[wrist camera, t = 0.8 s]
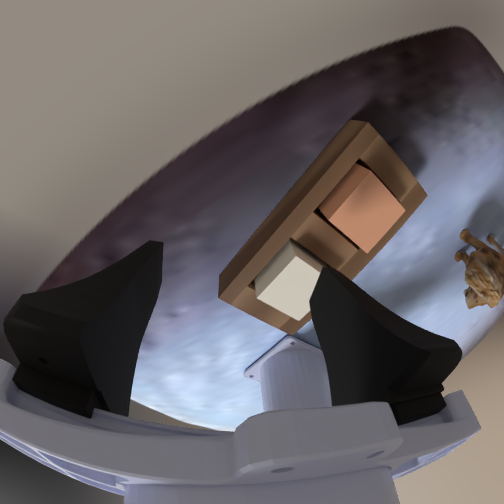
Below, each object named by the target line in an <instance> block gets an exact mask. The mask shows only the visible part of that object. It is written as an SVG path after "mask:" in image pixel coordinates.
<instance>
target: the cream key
mask: <svg viewBox="0 0 504 504" xmlns="http://www.w3.org/2000/svg"><path fill="white" fill-rule="evenodd" d="M322 267H327V265H326V263H325V262H324V261H323V260H321V259H320V258H319V257H317V256H316V255H314V254H313V253H312V252H310V251H309V250H308V249H306V248H305V247H303V246H302V245H301V244H299V243H298V242H296V241H295V240H294V239H292V238H290V239H289V240H288V241H287V242H286V243H285V244H284V246H283V247H282V248H281V249H280V250H279V251H278V252H277V253H276V255H275V256H274V257H273V258H272V259H271V260H270V261H269V262H268V264H267V265H266V266H265V267H264V268H263V269H262V270H261V271H260V272H259V274H258V275H257V276H256V277H255V278H254V282H255V290H256V298H257V299H259V300H261V301H263V302H264V303H266V304H268V305H270V306H272V307H274V308H276V309H277V310H279V311H281V312H283V313H285V314H287V315H289V316H290V317H292V318H294V319H296V320H298V321H299V320H301V319H302V318H303V317H304V316H305V315H306V314H307V313H308V312H309V311H310V305H309V300H310V297H311V295H312V292H313V290H314V287H315V285H316V282H317V280H318V277H319V275H320V272H321V270H322Z"/></svg>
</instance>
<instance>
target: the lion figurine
mask: <svg viewBox="0 0 504 504" xmlns="http://www.w3.org/2000/svg"><path fill="white" fill-rule="evenodd" d="M460 238H461V239H462V240H463V241H464V242H465V243H469V244H471V245H472V246H473V247H474V248H475V249H476V251H475V252H472V253H470V256H468V254H466V252H464V251H459V252H457V253H456V255H455V260H456V261H457V262H459V261H460V260H463V261H464V262H465V264H466V271H465V282H466V283H467V284H468V285H469V288H468V289H466V290H464V295H465V297H466V298H465V300H466V303H467V305H468V309H471V308H473V307H476V306H478V305H481V306H483V305H485V304H488V305H489V306H490V308H493V307H494V306H497V305H498V302H499V301H500V300H501V299H502V297H503V295H504V249H502V248H501V247H500V245H499V244H498V243H497V242H496V241H495V240H494V238H493V236H492V235H489V236H488V239H487V243H488V244H490V245H492V246H493V247H494V248H495V250H496V251H495V250H494V249H492V248H490V247H488V246H487V245H486V244H485V243H484V242H482V241H480V240H478V239H477V238H475V237H473V236H471V235H470V234H469V233H468V231H467V230H466V229H464V230H463V231H462V232H461V234H460Z"/></svg>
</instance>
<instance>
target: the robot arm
mask: <svg viewBox="0 0 504 504" xmlns="http://www.w3.org/2000/svg"><path fill="white" fill-rule="evenodd" d="M162 261H163V242H157V241H151V240H150V241H148V242H147V243H145V244H144V245H142V246H141V247H139V248H138V249H136V250H135V251H133V252H132V253H130V254H129V255H127V256H126V257H124V258H123V259H121V260H119V261H118V262H116V263H114V264H113V265H111V266H109V267H108V268H106V269H104V270H102V271H100V272H98V273H96V274H94V275H92V276H89V277H87V278H84V279H82V280H79V281H76V282H74V283H71V284H68V285H65V286H62V287H58V288H54V289H50V290H46V291H40V292H34V293H29V294H22V296H21V297H20V298H19V299H18V301H17V302H16V304H15V305H14V306H13V307H12V309H11V310H10V311H9V313H8V314H7V315H6V317H5V318H4V322H3V326H4V332H5V334H6V337H7V339H8V341H9V343H10V345H11V347H12V349H13V351H14V353H15V354H16V356H17V358H18V359H19V361H20V364H19V366H18V368H17V370H16V368H15V367H13V366H12V365H11V364H10V363H8V362H6V361H4V360H2V359H0V439H1V440H3V441H4V442H6V443H7V444H9V445H10V446H12V447H14V448H15V449H17V450H19V451H20V452H22V453H24V454H26V455H27V456H29V457H31V458H33V459H35V460H37V461H38V462H40V463H42V464H44V465H46V466H48V467H50V468H52V469H54V470H56V471H58V472H61V473H63V474H65V475H67V476H70V477H72V478H74V479H77V480H79V481H82V482H84V483H87V484H89V485H92V486H95V487H98V488H100V489H103V490H106V491H109V492H113V493H116V494H119V495H123V496H124V504H400V502H399V499H398V495H397V492H396V488H395V485H394V482H393V480H394V479H397V478H399V477H402V476H404V475H406V474H408V473H411V472H413V471H415V470H417V469H419V468H422V467H424V466H426V465H428V464H430V463H432V462H434V461H436V460H438V459H439V458H442V457H444V456H445V455H447V454H448V453H450V452H451V451H453V450H454V449H456V448H457V447H459V446H460V445H461V444H463V443H464V442H465V441H467V440H468V439H469V438H471V437H472V436H473V435H475V434H476V433H477V432H478V431H480V429H481V426H480V424H479V422H478V420H477V418H476V416H475V414H474V412H473V410H472V408H471V406H470V404H469V402H468V400H467V399H466V397H465V395H464V393H463V391H462V390H459V391H456V392H453V393H450V394H448V395H446V396H445V397H443V396H442V394H441V392H442V391H443V390H444V387H443V385H442V382H443V381H444V380H445V379H446V378H447V377H448V376H449V374H450V373H451V372H452V371H453V370H454V369H455V368H456V366H457V365H458V363H459V362H460V360H461V357H462V350H461V348H460V347H459V345H458V344H457V343H456V342H455V341H454V340H452V339H449V338H446V337H443V336H440V335H437V334H434V333H432V332H429V331H427V330H425V329H422V328H420V327H418V326H416V325H414V324H412V323H410V322H409V321H407V320H405V319H403V318H401V317H400V316H398V315H396V314H395V313H393V312H392V311H390V310H389V309H387V308H386V307H384V306H383V305H381V304H380V303H379V302H377V301H376V300H375V299H373V298H372V297H371V296H370V295H368V294H367V293H366V292H365V291H363V290H362V289H361V288H360V287H358V286H357V285H356V284H355V283H354V282H352V281H351V280H350V279H349V278H347V277H346V276H345V275H344V274H342V273H341V272H339V271H338V270H336V269H335V268H329V267H322V270H321V272H320V275H319V277H318V280H317V282H316V285H315V287H314V290H313V292H312V295H311V297H310V300H309V305H310V311H311V317H312V321H313V324H314V327H315V330H316V334H317V337H318V340H319V343H320V346H321V349H322V350H321V349H318V348H316V347H314V346H312V345H310V344H307V343H305V342H303V341H301V340H299V339H297V338H295V337H292V336H287V337H285V338H284V339H283V340H282V341H281V342H279V343H278V344H277V345H276V346H275V347H274V348H272V349H271V350H270V351H269V352H268V353H266V354H265V355H264V356H263V357H262V358H260V359H259V360H258V361H257V362H255V363H254V364H253V365H252V366H250V367H249V368H248V369H247V370H245V371H244V373H243V374H244V376H245V377H247V378H250V379H253V380H256V381H259V382H261V391H262V400H263V409H264V412H263V413H260V414H257V415H254V416H251V417H249V418H248V419H246V420H245V421H244V422H243V423H242V424H240V425H239V426H238V427H237V428H236V430H235V432H230V431H215V430H203V429H194V428H186V427H179V426H172V425H166V424H160V423H154V422H149V421H144V420H139V419H135V418H130V417H128V414H129V405H130V397H131V390H132V384H133V378H134V373H135V367H136V362H137V358H138V353H139V349H140V345H141V342H142V338H143V336H144V333H145V330H146V328H147V325H148V322H149V320H150V317H151V314H152V312H153V309H154V307H155V304H156V301H157V298H158V294H159V291H160V287H161V283H162Z"/></svg>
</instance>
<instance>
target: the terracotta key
mask: <svg viewBox="0 0 504 504" xmlns="http://www.w3.org/2000/svg"><path fill="white" fill-rule="evenodd" d="M318 208H319V209H320V211H321V212H322V213H323V214H324V216H325V217H326V218H327V219H328V220H329V221H330V222H331V223H332V224H333V225H335V226H336V227H337V228H338V229H339V230H341V231H342V232H343V233H344V234H345V235H346V236H348V237H349V238H350V239H351V240H352V241H353V242H354V243H356V244H357V245H358V246H359V247H360V248H361V249H362V250H363V251H365V252H366V253H368V252H369V251H370V250H371V249H372V248H373V247H374V246H375V245H376V244H377V243H378V241H379V240H380V239H381V238H382V237H383V236H384V235H385V234H386V233H387V231H388V230H389V229H390V228H391V227H392V226H393V225H394V223H395V222H396V221H397V220H398V219H399V218H400V217H401V215H402V214H403V213H404V212H405V211H406V210H405V209H404V208H403V207H402V206H401V204H400V203H399V202H398V201H397V200H396V198H395V197H394V196H393V195H392V194H391V193H390V191H389V190H388V189H387V188H386V187H385V186H384V185H383V184H382V182H381V181H380V180H379V179H378V178H377V177H376V176H375V175H374V174H373V173H372V172H371V171H370V170H368V169H366V168H364V167H362V166H360V165H358V164H356V163H355V164H354V165H353V166H352V167H351V168H350V169H349V171H348V172H347V173H346V174H345V175H344V177H343V178H342V179H341V180H340V181H339V182H338V184H337V185H336V186H335V187H334V188H333V189H332V191H331V192H330V193H329V194H328V195H327V196H326V197H325V199H324V200H323V201H322V202H321V203H320V204H319V206H318Z"/></svg>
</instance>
